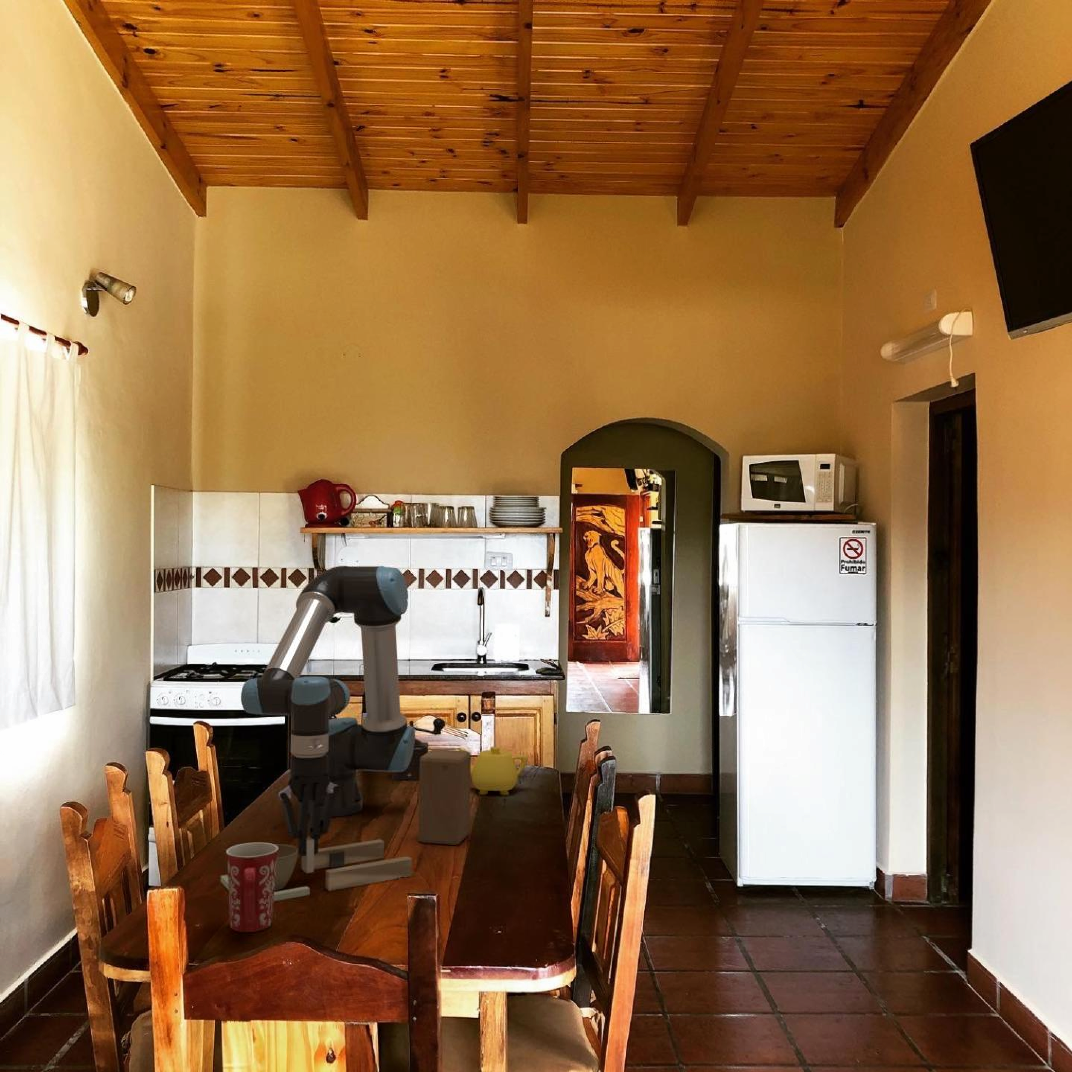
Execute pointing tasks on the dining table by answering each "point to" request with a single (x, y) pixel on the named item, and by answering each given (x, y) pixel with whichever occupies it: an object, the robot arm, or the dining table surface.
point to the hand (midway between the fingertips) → (307, 870)
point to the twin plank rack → (362, 872)
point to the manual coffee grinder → (418, 753)
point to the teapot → (496, 770)
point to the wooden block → (444, 796)
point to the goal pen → (280, 894)
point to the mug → (251, 885)
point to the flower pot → (284, 864)
